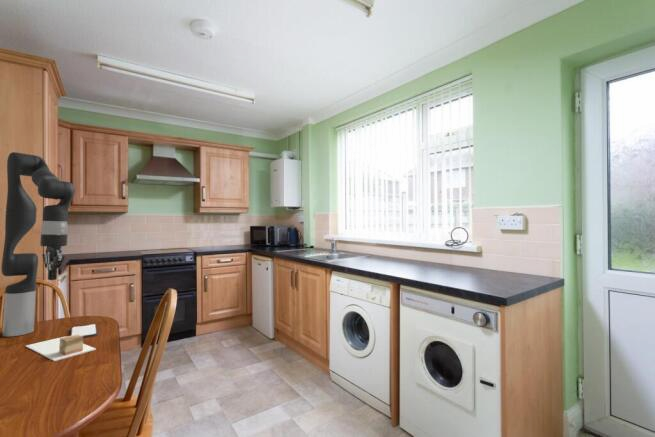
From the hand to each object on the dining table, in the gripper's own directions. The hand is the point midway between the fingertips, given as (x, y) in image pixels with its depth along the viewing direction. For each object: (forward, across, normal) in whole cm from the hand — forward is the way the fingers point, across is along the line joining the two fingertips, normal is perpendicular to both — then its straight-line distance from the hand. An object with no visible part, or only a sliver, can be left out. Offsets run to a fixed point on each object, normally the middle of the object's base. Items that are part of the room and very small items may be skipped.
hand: (52, 279), depth 116 cm
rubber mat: (+25, +5, +2) cm, 25 cm away
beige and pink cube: (+19, +13, +2) cm, 23 cm away
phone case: (+26, -8, +14) cm, 31 cm away
